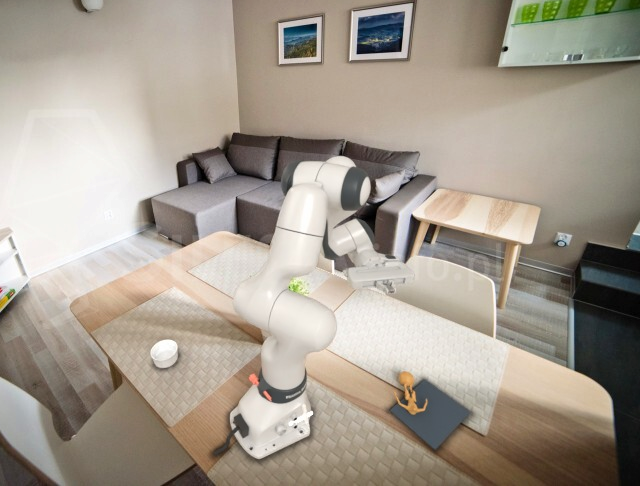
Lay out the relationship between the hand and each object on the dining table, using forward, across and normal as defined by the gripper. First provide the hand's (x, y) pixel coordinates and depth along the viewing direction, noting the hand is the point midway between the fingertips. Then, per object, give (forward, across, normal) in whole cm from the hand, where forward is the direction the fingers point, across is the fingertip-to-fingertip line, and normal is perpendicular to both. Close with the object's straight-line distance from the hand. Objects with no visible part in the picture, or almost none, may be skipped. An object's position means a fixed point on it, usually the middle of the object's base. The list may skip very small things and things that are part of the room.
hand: (391, 292), depth 97 cm
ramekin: (-5, -71, +23) cm, 75 cm away
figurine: (+13, 0, +21) cm, 24 cm away
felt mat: (+23, +2, +22) cm, 31 cm away
